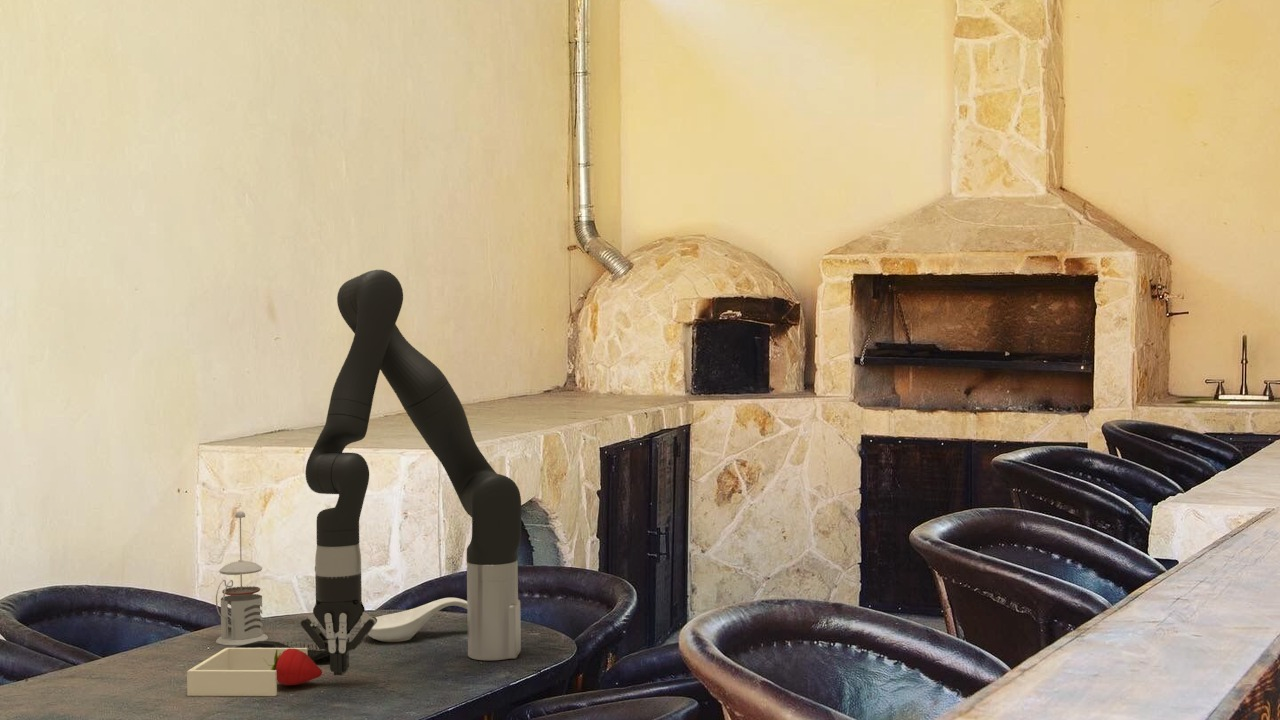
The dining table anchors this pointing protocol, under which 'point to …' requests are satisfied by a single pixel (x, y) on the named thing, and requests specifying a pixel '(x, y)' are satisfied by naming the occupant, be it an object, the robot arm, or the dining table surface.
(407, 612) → the spoon rest
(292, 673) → the strawberry
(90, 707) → the dining table surface
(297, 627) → the dining table surface
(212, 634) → the dining table surface
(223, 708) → the dining table surface
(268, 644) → the hairbrush
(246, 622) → the french press
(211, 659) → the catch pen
